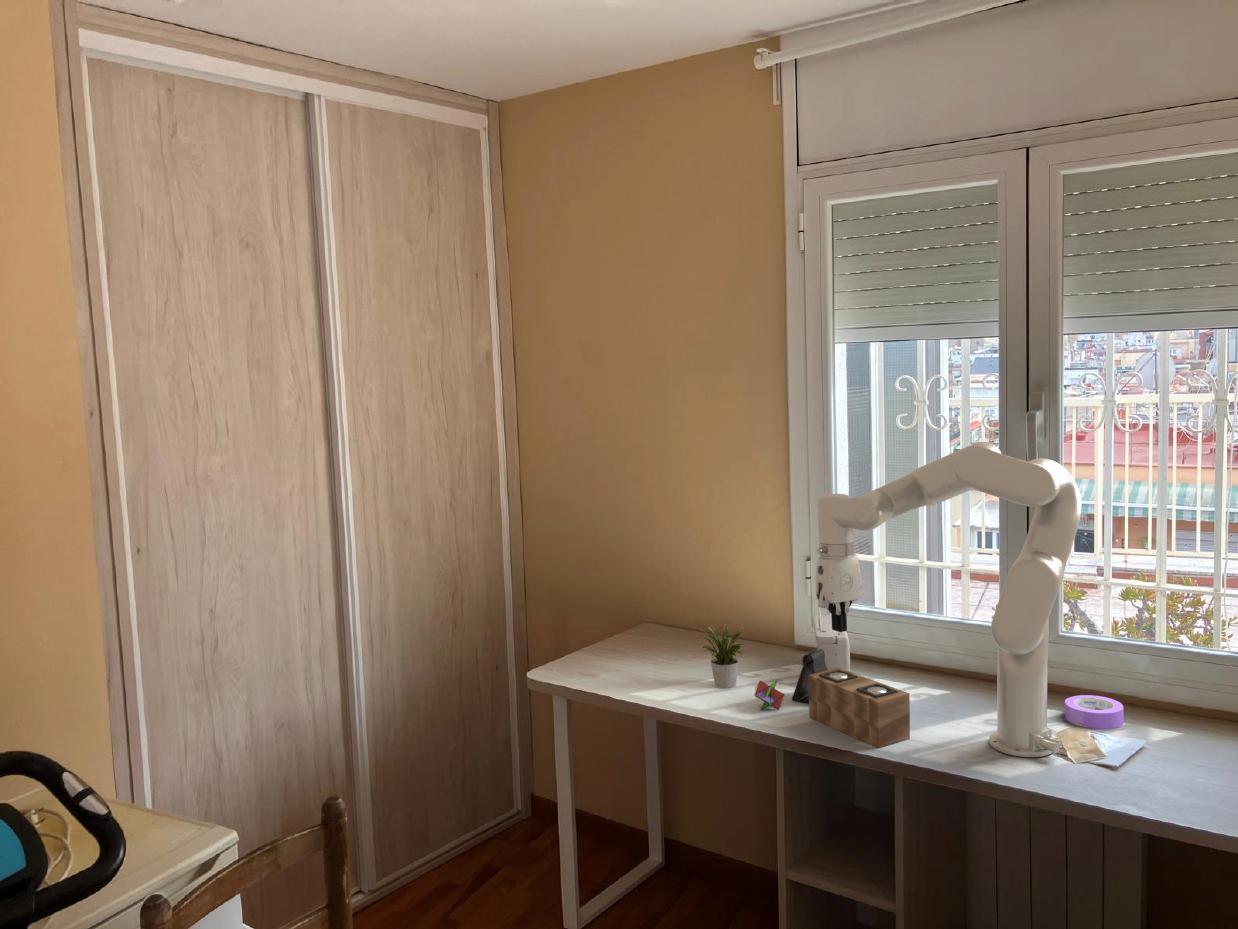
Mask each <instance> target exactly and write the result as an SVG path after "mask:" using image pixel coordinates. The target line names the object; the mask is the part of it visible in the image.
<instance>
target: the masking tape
mask: <svg viewBox="0 0 1238 929" xmlns="http://www.w3.org/2000/svg"><path fill="white" fill-rule="evenodd" d="M1064 718H1065V719H1066V721H1068V722H1070V723H1071V724H1073V725H1075V724H1076V725H1075V726H1078V725H1081V726H1080V727H1082V726H1086V727H1088V729H1094V730H1112V729H1119V728H1121V727H1122V726H1123V725H1124V705H1123V704H1122V702H1120V701H1118V700H1115V699H1114V698H1110V697H1106V696H1102V695H1101V696H1100V695H1091V694H1090V695H1089V694H1086V695H1085V694H1080V695H1074V696H1073V695H1072V696H1070V697H1067V698H1066V699H1065V700H1064ZM1086 727H1085V728H1086Z"/></svg>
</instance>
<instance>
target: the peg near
mask: <svg viewBox="0 0 1238 929" xmlns="http://www.w3.org/2000/svg"><path fill="white" fill-rule="evenodd" d="M867 691H869V692H871V693H874V694H876V695H877V694H881V693H884V692H887V690H886V689H885V688H882V687H870V688H868V689H867Z"/></svg>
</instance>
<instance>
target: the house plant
mask: <svg viewBox="0 0 1238 929" xmlns="http://www.w3.org/2000/svg"><path fill="white" fill-rule="evenodd" d="M727 623H728V621H726V623H724V625H723V632H722V638H721V639H722V640H720V639H719V636H718V632H717V630H716V628H715V627H714V626H713V625H711V624H709V626H708V627H707V629H708V630H709V631H710V633H711V634H709V633H708V632H706V630H704V629H703V628H700V627H697V626H696V627H695V626H694V628H695V629H699V630H701V631H703V632H705V635H706V636H708V637H709V638H708V637H705V639H706V640H707V641H708V642H709V644H710V645H711V646H710V645H707V644H705V645H703V646H702V647H701V648H702V649H704V651H705V652H706V651H708V652H710V653H711V660H710V665H711V670H712V676H713V680H714V686H715V687H716V688H719V689H732V688H735V687H736V686H737V685H736V684H737V679H738V678H737V677H738V671H739V669H738V668H739V662H740V660H739V659H737V658H736V657H737V654H738V655H740V656H741V657H742V658H744V656H743V655H744V653H743V652H742V651H741V650H740V649H741V648H742V646H741V645H743V648H744V649H745V647H744V643H737V644H735V642H736V641H737V639H738V638H739V637H740V636H742V635H743V633H742V631H743V630H744V629H745V628H747V625H746V626H743V627H741V628H740V629H738V630H737V631H736V633H735V634H734V635H733V637H732V638H731V639H730V638H729V637H730V629H729V625H727ZM711 627H712V628H713V629H712V628H711ZM734 627H735V626H733V627H732V629H734ZM741 633H742V634H741ZM729 639H730V641H729ZM729 642H730V643H729ZM728 644H729V645H728ZM714 657H715V658H714Z"/></svg>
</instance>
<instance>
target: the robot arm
mask: <svg viewBox="0 0 1238 929" xmlns="http://www.w3.org/2000/svg"><path fill="white" fill-rule="evenodd" d="M971 490H975V491H978V492H980V493H984V494H986V495H989V496H992V497H996V498H999V499H1002V500H1005V501H1009V502H1012V503H1014V504H1018V505H1021V506H1025V507H1030V508H1034V513H1033V516H1032V519H1031V523H1030V525H1029V528H1028V532H1027V535H1026V538H1025V541H1024V544H1023V546H1022V549H1021V551H1020V553H1019V555H1018V556H1017V558H1016V560H1015V561H1014V562H1013V563H1012V565H1011V566H1010V568H1009V570H1008V574H1007V576H1006V578H1005V582H1004V585H1003V588H1002V590H1001V594H1000V596H999V599H998V602H997V605H996V607H995V611H994V615H993V617H992V620H991V624H990V633H991V636H992V639H993V641H994V643H995V644H996V646H997V670H996V671H997V672H996V674H997V678H996V679H997V680H996V682H997V683H996V684H997V686H996V688H997V690H996V691H997V692H996V693H997V694H996V697H997V698H996V699H997V701H996V704H997V705H996V706H997V707H996V708H997V710H996V713H997V714H996V716H997V718H996V720H997V722H996V726H997V727H996V729H997V731H995V732H992V733H991V735H989V738H988V739H989V741H988V742H989V745H990V747H992V748H993V749H995V750H996V751H998V752H1000V753H1003V754H1006V755H1009V756H1015V757H1021V758H1041V757H1046V756H1049V755H1051V754H1052V753H1054V754H1057V753H1059V752H1060V750H1061V747H1062V745H1063V741H1062V740H1061V739H1058V738H1055V737H1053V736H1052V734H1053V733H1052V728H1050V727H1048V660H1049V659H1048V654H1049V651H1048V650H1049V635H1050V633H1049V632H1050V616H1051V613H1052V610H1053V608H1054V604H1055V602H1056V600H1057V597H1058V595H1059V591H1060V589H1061V586H1062V584H1063V582H1064V581H1063V580H1064V575H1065V571H1066V566H1067V563H1068V560H1069V557H1070V553H1071V551H1072V547H1073V545H1074V542H1075V538H1076V535H1077V531H1078V528H1079V525H1080V520H1081V517H1082V516H1081V515H1082V498H1081V493H1080V490H1079V487H1078V484H1077V483H1076V480H1074V478H1073V476H1072V475H1071V474H1070V472H1069V471H1067V469H1066V468H1065V467H1063V466H1062V465H1061V464H1060V463H1059V462H1056V461H1054V460H1052V459H1049V458H1042V457H1040V458H1035V459H1032V460H1029V461H1027V460H1023V459H1019V458H1016V457H1014V456H1013V457H1012V456H1010V455H1006V454H1003V453H1002V452H1001V450H1000V449H999V447H998V446H996V445H995V444H993V443H991V442H988V441H979V442H975V443H972V444H970V445H968V446H965V447H963V448H960V449H958V450H956V451H954V452H951V453H949V454H948V455H944V456H942V457H940V458H938V459H936V460H933V461H931V462H929V463H927V464H924V465H921V466H920V467H918V468H916V469H914V470H913V471H912V472H910V473H908V474H906V475H905V476H902V477H900V478H898V479H896V480H893V481H892V482H889V483H887V484H884V485H882V486H880V487H877V488H875V489H873V490H870V491H868V492H866V493H864V494H862V495H860V496H855V497H851V496H849V495H848V494H845V493H830V494H829V493H828V494H823V495H821V496H820V497H819V498H818V500H817V520H818V547H817V548H816V553H817V554H818V555H819V556H818V557H817V560H816V568H815V569H816V570H815V594H816V600H817V601H818V600H819V604H818V603H817V604H818V606H819V607H820V609H826V610H828V613H829V614H831V615H830V616H831V617H832V630H835V631H838V632H843V631H848V621H847V619H848V618H847V617H848V616H847V614H848V613H849V612H850V608H851V605H852V604H854V603H856V602H858V600H859V598H861V596H862V595H863V583H862V582H863V581H862V574H861V573H862V572H861V567H860V562H859V558H858V554H856V553H855V542H854V541H855V540H854V530H858V531H872V530H875V529H877V528H879V527H881V525H883V524H885V523H886V522H887V521H890V520H892V519H895V518H896V517H899V516H901V515H903V514H906V513H908V512H911V511H913V510H916V509H919V508H922V507H927V506H935V505H938V504H939V505H940V504H941V503H943V502H946V501H947V500H948V501H949V500H950V499H953V498H954V497H958V496H960V495H962V494H964V493H966V492H969V491H971ZM819 607H818V608H819Z"/></svg>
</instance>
